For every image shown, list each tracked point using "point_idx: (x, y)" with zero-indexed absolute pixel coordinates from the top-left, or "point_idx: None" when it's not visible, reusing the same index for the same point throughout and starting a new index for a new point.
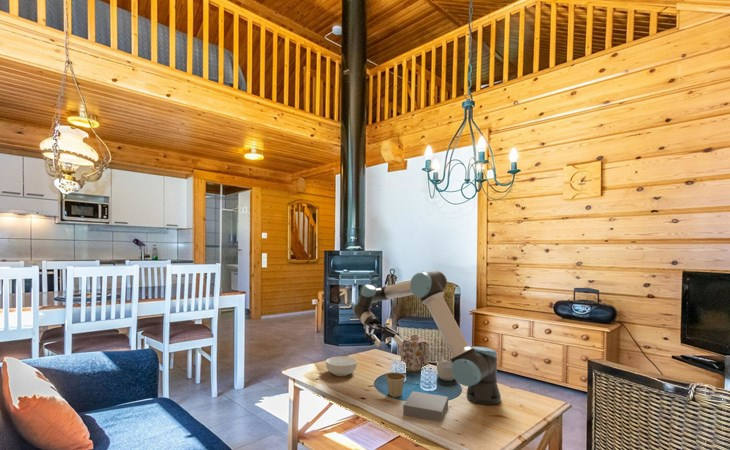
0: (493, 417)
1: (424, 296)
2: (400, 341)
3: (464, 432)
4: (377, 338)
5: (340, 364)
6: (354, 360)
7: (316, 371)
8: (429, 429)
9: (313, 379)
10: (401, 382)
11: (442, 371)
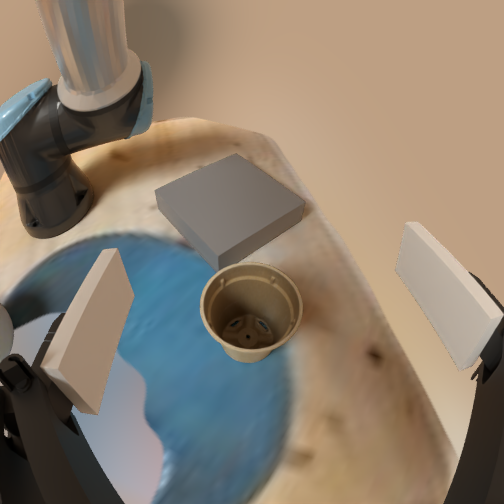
0: (130, 154)
1: None
2: (114, 274)
3: (225, 142)
4: (443, 259)
5: None
6: None
7: None
8: (278, 165)
9: None
10: (244, 277)
11: (1, 319)
